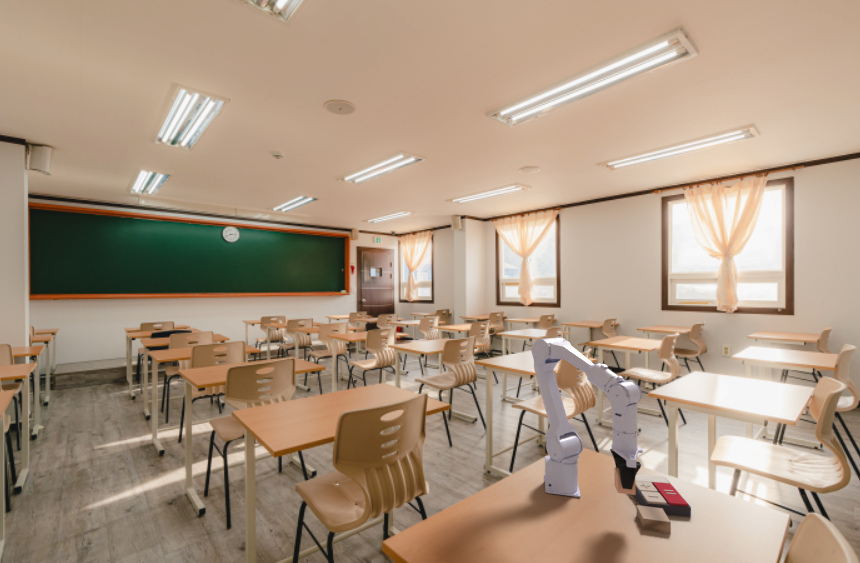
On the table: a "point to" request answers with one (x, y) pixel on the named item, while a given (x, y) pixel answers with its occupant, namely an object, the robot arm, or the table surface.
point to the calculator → (660, 495)
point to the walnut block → (653, 519)
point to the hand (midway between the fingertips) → (625, 483)
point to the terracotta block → (619, 485)
